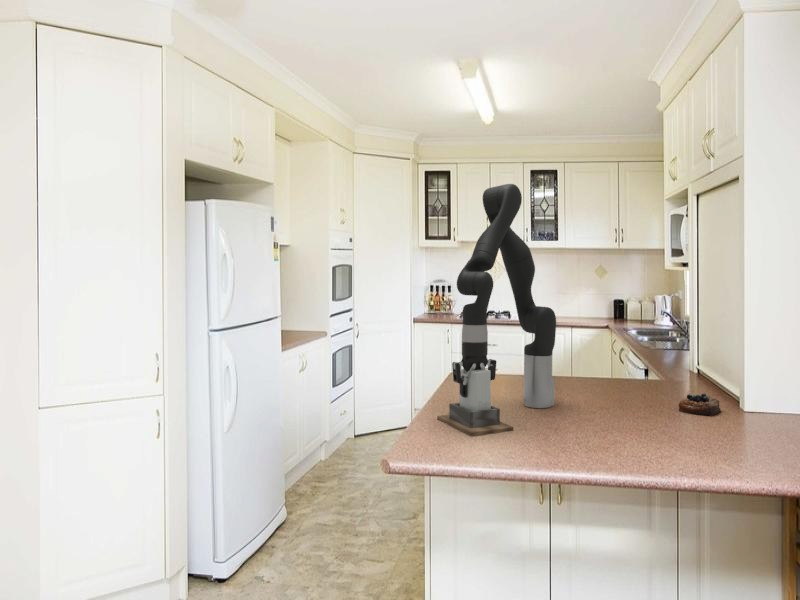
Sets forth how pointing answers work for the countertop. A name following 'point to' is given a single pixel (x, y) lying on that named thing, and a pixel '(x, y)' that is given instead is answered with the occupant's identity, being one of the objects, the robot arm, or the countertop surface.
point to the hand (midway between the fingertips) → (474, 395)
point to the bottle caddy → (475, 420)
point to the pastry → (699, 405)
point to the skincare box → (477, 391)
